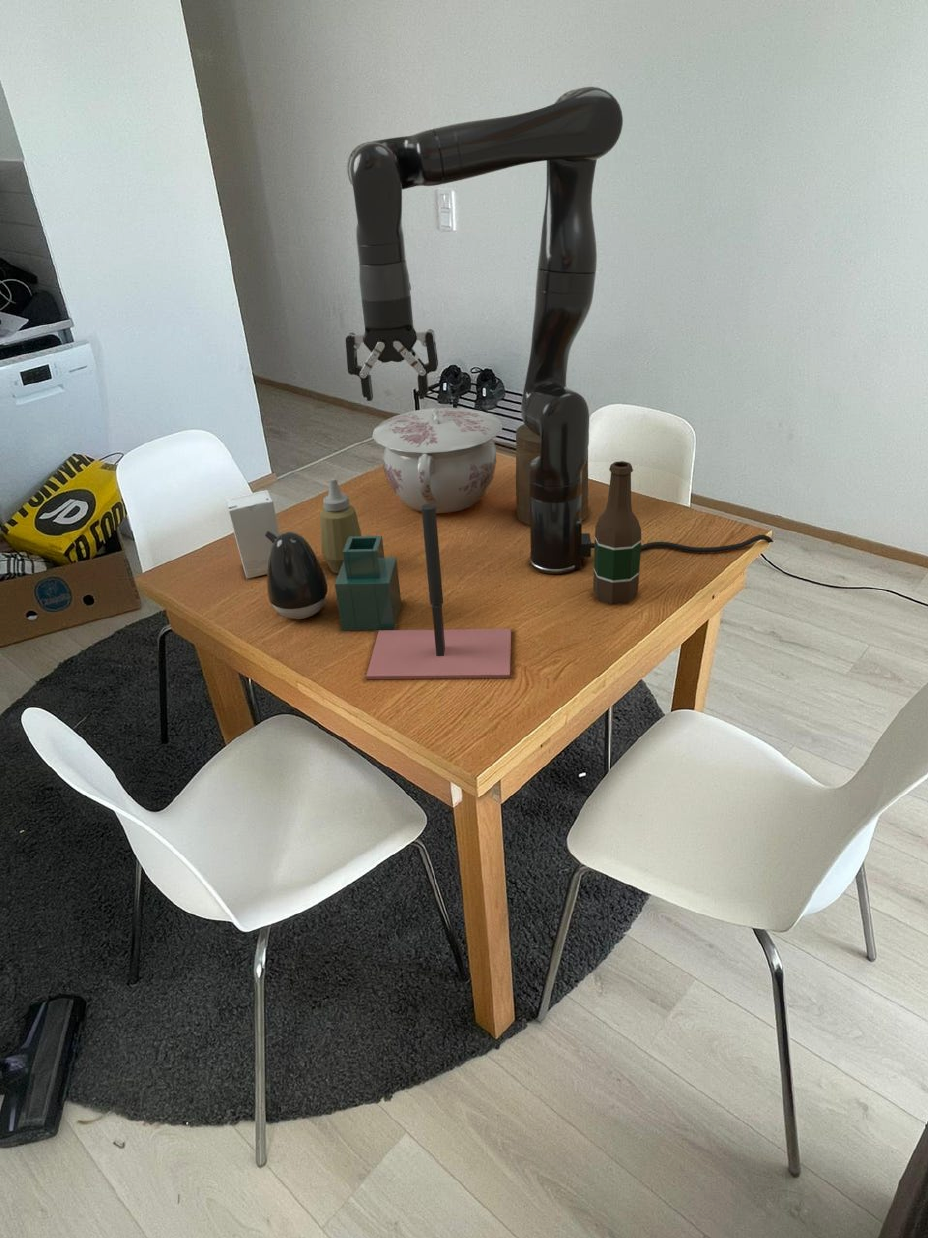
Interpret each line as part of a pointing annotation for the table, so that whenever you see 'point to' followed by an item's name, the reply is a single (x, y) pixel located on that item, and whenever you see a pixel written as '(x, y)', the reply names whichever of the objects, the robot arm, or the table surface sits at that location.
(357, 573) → the green square vase
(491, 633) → the place mat
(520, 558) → the table surface
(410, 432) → the chamber pot
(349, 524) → the squeeze bottle
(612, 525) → the beer bottle
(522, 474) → the wooden container
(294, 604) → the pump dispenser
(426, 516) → the stepped grey rod
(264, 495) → the cosmetic box
